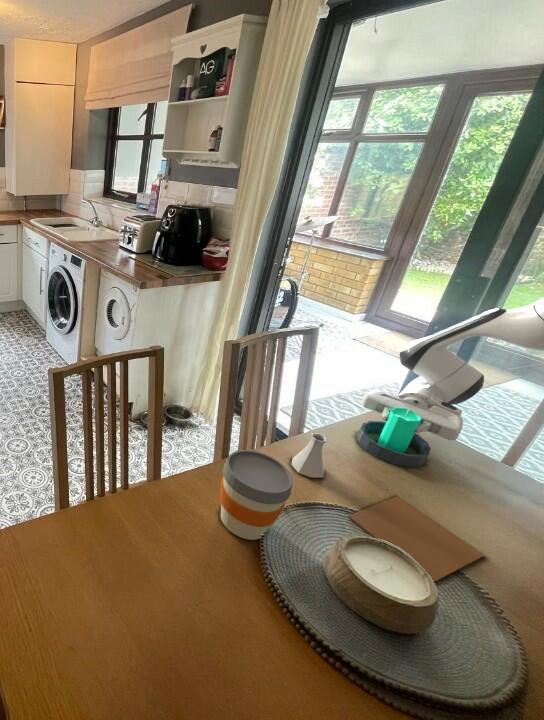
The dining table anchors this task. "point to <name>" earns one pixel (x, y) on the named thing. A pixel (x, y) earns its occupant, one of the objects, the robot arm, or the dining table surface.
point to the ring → (387, 453)
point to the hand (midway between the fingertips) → (401, 424)
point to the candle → (399, 429)
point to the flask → (311, 458)
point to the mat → (417, 537)
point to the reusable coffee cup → (253, 492)
